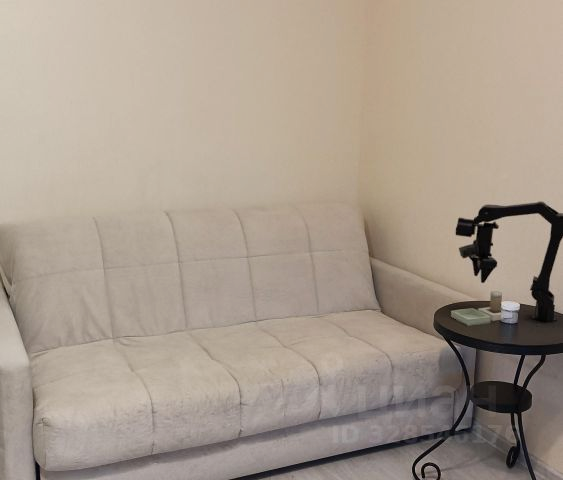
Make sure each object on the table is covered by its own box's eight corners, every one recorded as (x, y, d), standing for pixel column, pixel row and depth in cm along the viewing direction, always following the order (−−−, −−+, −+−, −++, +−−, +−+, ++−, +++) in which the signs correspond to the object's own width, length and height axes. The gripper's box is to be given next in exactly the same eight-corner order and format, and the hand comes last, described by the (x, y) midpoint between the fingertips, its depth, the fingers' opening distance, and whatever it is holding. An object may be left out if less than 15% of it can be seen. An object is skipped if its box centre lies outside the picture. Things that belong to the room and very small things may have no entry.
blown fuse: (503, 316, 254) (504, 293, 252) (493, 318, 253) (495, 294, 251) (496, 313, 258) (497, 290, 256) (487, 314, 257) (488, 291, 255)
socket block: (513, 317, 253) (513, 312, 252) (492, 320, 250) (492, 315, 250) (498, 311, 261) (498, 306, 261) (477, 313, 258) (478, 308, 258)
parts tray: (490, 323, 247) (490, 316, 247) (468, 326, 244) (468, 319, 244) (472, 314, 258) (472, 308, 257) (451, 317, 255) (451, 310, 254)
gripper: (456, 232, 263) (451, 271, 266) (468, 243, 244) (464, 285, 248) (485, 233, 263) (480, 272, 266) (499, 245, 244) (494, 286, 248)
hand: (479, 279), depth 257 cm, fingers open, 9 cm apart
